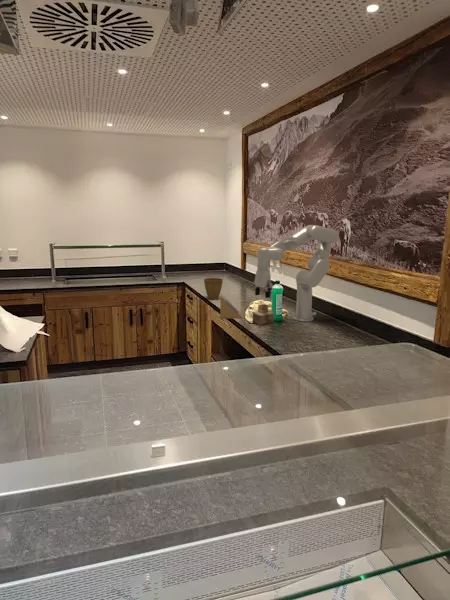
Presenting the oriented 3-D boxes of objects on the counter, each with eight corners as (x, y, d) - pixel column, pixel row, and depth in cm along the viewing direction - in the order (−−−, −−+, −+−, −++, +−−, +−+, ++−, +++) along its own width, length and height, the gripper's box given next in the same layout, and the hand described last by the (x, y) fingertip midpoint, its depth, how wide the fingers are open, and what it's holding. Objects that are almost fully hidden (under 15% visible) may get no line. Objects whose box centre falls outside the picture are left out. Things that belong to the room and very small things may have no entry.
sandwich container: (244, 318, 271) (244, 295, 268) (220, 318, 271) (220, 296, 268) (243, 315, 280) (243, 293, 277) (220, 315, 280) (220, 293, 277)
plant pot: (201, 300, 329) (200, 280, 326) (208, 296, 343) (208, 277, 340) (218, 301, 324) (218, 281, 321) (225, 298, 338) (225, 278, 334)
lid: (265, 312, 265) (265, 302, 264) (274, 315, 259) (274, 305, 257) (251, 314, 260) (252, 304, 258) (260, 317, 253) (260, 307, 251)
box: (264, 320, 266) (265, 311, 265) (273, 323, 260) (273, 313, 258) (252, 322, 261) (252, 313, 259) (260, 325, 254) (260, 315, 253)
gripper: (249, 267, 258) (248, 294, 261) (268, 270, 244) (266, 299, 247) (259, 266, 262) (258, 293, 266) (277, 269, 248) (276, 298, 252)
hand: (262, 296), depth 257 cm, fingers open, 9 cm apart
